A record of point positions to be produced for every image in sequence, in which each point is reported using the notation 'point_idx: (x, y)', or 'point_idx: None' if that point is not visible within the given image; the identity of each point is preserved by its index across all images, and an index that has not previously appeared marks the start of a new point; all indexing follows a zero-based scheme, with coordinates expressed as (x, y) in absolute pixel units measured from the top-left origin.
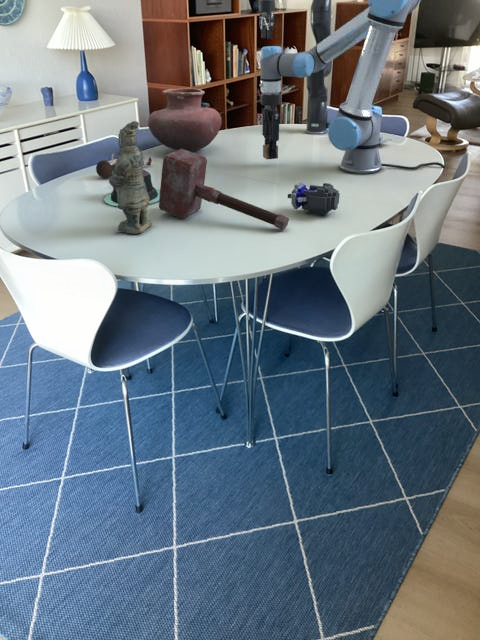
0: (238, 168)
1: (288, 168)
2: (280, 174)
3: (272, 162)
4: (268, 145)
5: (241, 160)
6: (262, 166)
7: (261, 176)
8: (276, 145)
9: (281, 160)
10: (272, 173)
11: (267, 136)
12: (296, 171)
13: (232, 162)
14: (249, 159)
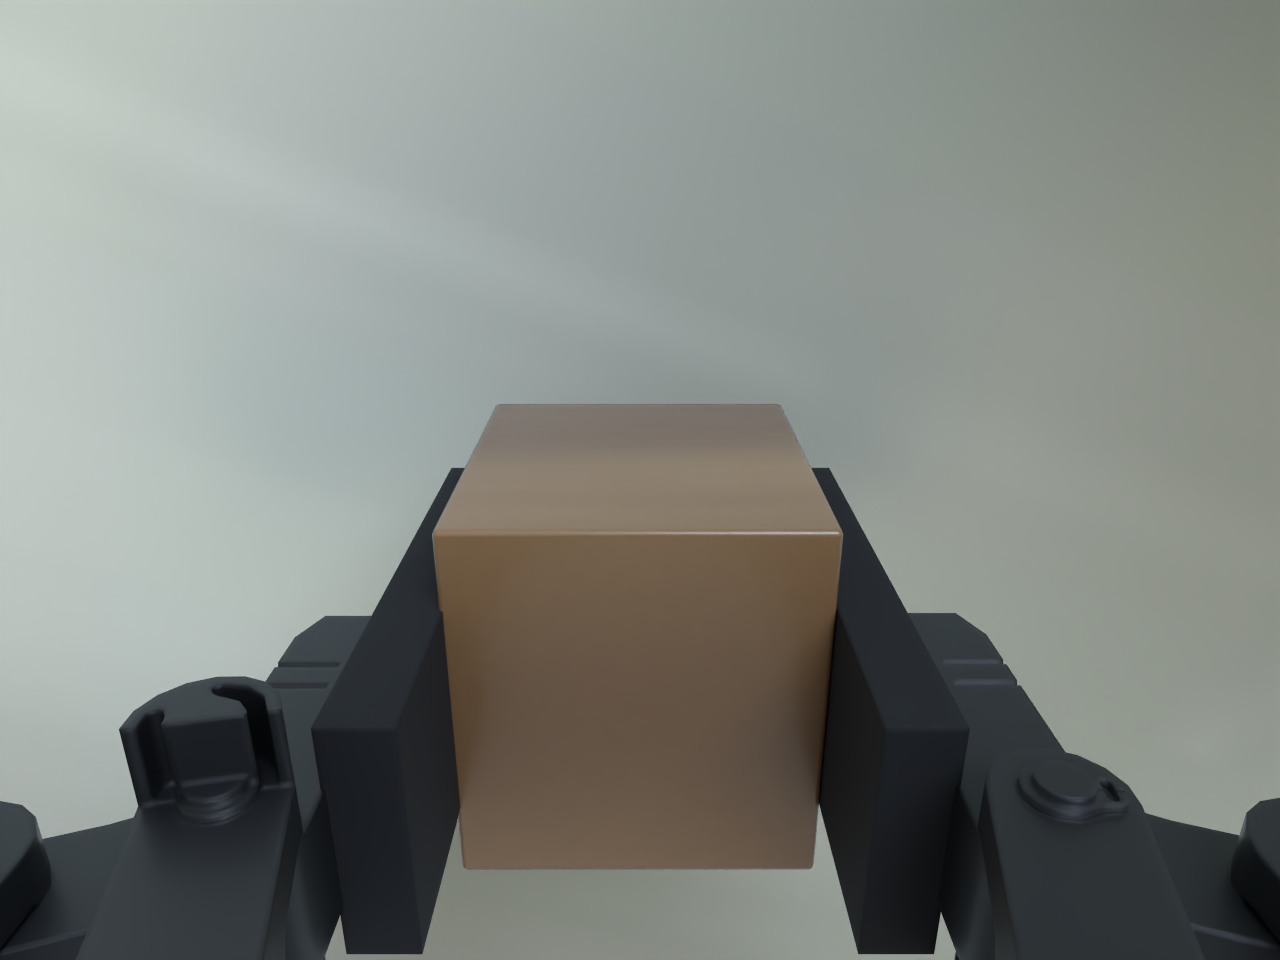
0: (569, 943)
1: (942, 171)
2: (1240, 479)
3: (355, 327)
4: (618, 767)
5: (77, 793)
6: None
7: (1158, 785)
8: (728, 549)
9: (231, 64)
10: (1100, 584)
11: (307, 932)
12: (1245, 91)
13: None
14: (25, 660)
